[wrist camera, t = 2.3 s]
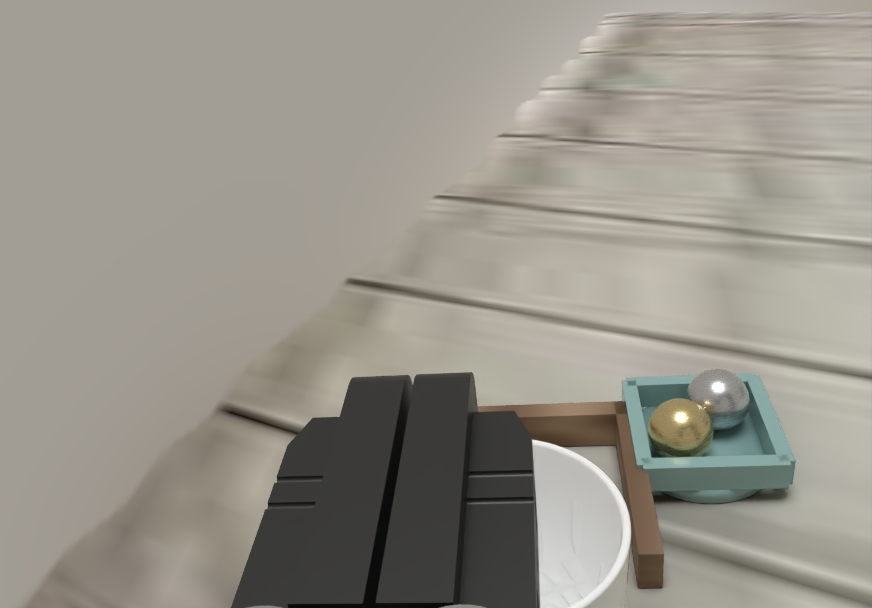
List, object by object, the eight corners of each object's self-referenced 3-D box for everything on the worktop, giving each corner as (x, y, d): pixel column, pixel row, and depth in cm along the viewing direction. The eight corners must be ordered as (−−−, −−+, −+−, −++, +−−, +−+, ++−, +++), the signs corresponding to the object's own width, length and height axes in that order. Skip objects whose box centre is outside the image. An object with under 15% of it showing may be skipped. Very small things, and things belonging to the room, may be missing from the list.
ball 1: (705, 432, 41) (706, 383, 40) (719, 473, 39) (721, 423, 37) (643, 436, 42) (642, 388, 40) (653, 477, 39) (652, 427, 38)
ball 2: (746, 409, 43) (736, 355, 42) (760, 434, 40) (750, 376, 39) (687, 420, 43) (676, 367, 43) (696, 445, 40) (685, 388, 40)
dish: (755, 405, 44) (759, 371, 43) (793, 501, 38) (798, 465, 37) (620, 410, 45) (620, 377, 44) (636, 505, 39) (636, 469, 38)
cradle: (633, 431, 43) (634, 400, 42) (662, 587, 35) (663, 554, 34) (405, 438, 45) (400, 409, 44) (379, 590, 36) (372, 557, 35)
